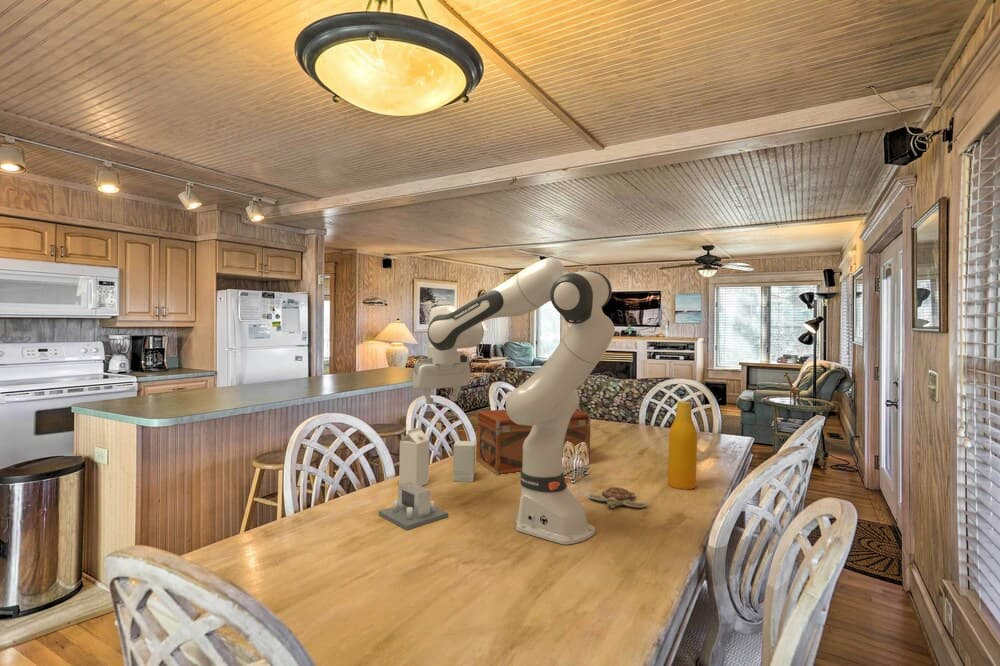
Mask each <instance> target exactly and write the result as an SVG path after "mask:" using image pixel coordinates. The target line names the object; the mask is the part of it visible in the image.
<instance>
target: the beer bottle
mask: <svg viewBox="0 0 1000 666" xmlns="http://www.w3.org/2000/svg"><path fill="white" fill-rule="evenodd" d="M691 405H692V404H691V402H690V401H682V400H681V401H677V404H676V411H675V412H676V413H675V416H674V417H675V419H674V420H673V423H672V424H671V426H670V428H669V433H668V434H669V435H668V464H667V465H668V467H667V470H668V471H667V485H668V486H669V487H672V488H673V487H674V488H673V489H677V488H678V490H683V489H690V490H694V489H695V488H696V485H697V456H698V454H697V453H698V434H697V433H698V432H697V430H696V427H695V424H694V422H693V418H692V406H691ZM693 488H694V489H693Z"/></svg>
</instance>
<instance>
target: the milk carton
mask: <svg viewBox="0 0 1000 666" xmlns="http://www.w3.org/2000/svg"><path fill="white" fill-rule="evenodd" d="M429 466H430V439H429V437H428V436H427V435H426V434H425V433H424V431H423V430H422V426H418V427H415V428H412V429H408V430H407V434H406V435H405V436H404V437H403V438H401V439H400V440H399V469H398V471H399V476H398V479H399V481H398V483H399V484H402V483H406V482H412V483H415V484H417V485H419V486H422V487H424V486H426V485H427V484H429V483H430V480H429V478H430V477H429V475H430V472H429V471H430V467H429Z"/></svg>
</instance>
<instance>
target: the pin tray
mask: <svg viewBox="0 0 1000 666" xmlns="http://www.w3.org/2000/svg"><path fill="white" fill-rule="evenodd" d="M398 508H399V501H398V499H394V500H392V507H389V508H385V509H381V510H378V516H380V517H381V518H383V519H385V520H387V521H389V522H391V523H393V525H394V524H395V525H396V526H398V527H400V528H401V529H404V530H405V531H408V530H412V529H415V528H417V527H418V528H419V527H421V526H424V525H427V524H432V523H434V522H437V521H441V520H443V519H446V518H448V517H449V512H448V511H447V510H443V509H441V508H439V507H437V506H435V500H430V515H428V516H425V517H422V518H419V519H418V518H416V517H414V516H413V507H407V513H406V512H404V511H402V510H400V509H398Z"/></svg>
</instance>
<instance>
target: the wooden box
mask: <svg viewBox="0 0 1000 666" xmlns="http://www.w3.org/2000/svg"><path fill="white" fill-rule="evenodd" d="M591 417H592V416H591V414H590V413H587V412H585V411H581V410H578V409H576V411H575V412H574V413H573V415H572V417H571V419H570V422H569V425H568V428H567V431H566V435H565V439H564V443H565V442H567V441H569V442H572V443H573V444H574V446H576V445H577V444H579V443H581V442H585V443H586V444H587V446H588V449H589V465H590V463H591V461H590V459H591V458H590V456H591V452H590V451H591V427H592V426H591V425H592V424H591V420H592V419H591ZM531 429H532V426H529V425H519V424H516V423H514V422H513V421H512V420H511V419H510V418H509V416H508V414H507V411H506V409H495V410H479V411H478V410H477V411H476V441H475V462H476V463H478V464H479V463H480V464H479V465H481V466H482V465H483V468H485V469H486V468H487V470H488V471H489V470H490V471H489V472H491V473H492V472H493V474H494V475H495V474H496V475H495V476H502V475H501V474H505V475H509V474H508V473H513V474H517V473H516V472H521V470H522V462H523V443H524V441H525V439H526V438H527V437H528V435H529V434H530V432H531Z"/></svg>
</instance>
